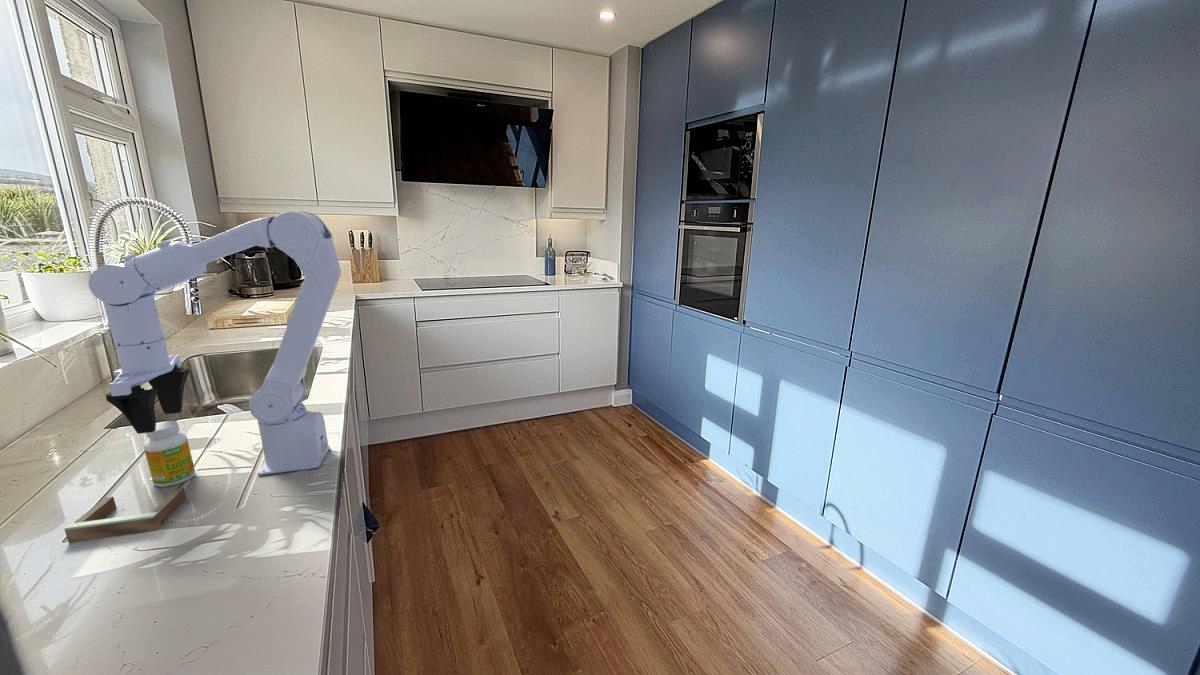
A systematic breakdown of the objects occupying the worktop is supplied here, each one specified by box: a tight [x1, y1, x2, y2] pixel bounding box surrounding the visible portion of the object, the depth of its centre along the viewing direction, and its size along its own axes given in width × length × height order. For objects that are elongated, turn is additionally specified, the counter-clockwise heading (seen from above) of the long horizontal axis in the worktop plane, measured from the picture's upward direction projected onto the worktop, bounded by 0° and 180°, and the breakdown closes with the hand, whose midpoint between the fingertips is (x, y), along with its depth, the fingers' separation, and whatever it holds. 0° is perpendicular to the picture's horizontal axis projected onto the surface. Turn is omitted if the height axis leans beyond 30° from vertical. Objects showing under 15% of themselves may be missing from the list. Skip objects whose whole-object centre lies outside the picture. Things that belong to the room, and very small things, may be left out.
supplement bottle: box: [143, 420, 196, 488], centre depth 81 cm, size 5×5×10 cm
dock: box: [64, 487, 188, 544], centre depth 71 cm, size 10×8×2 cm
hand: (160, 421), depth 79 cm, fingers open, 7 cm apart
